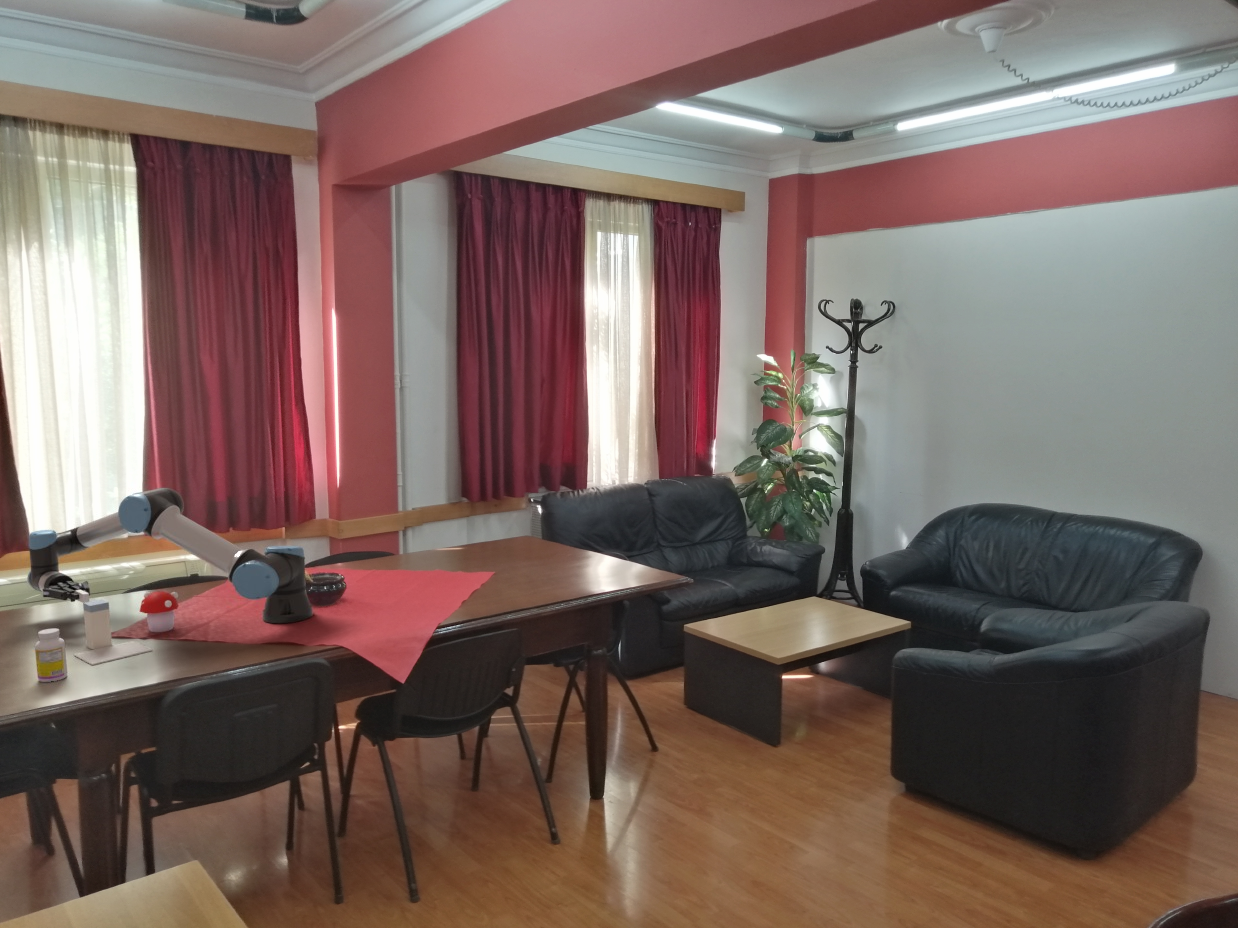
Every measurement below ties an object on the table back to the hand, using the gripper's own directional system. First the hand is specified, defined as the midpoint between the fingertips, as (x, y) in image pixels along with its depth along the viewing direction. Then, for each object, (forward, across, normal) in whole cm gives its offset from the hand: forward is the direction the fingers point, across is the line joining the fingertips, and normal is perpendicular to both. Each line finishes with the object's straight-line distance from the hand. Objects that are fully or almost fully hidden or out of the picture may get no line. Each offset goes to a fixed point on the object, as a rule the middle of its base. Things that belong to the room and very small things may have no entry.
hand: (86, 598), depth 273 cm
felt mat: (+19, 0, -13) cm, 22 cm away
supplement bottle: (+28, +19, -13) cm, 36 cm away
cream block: (+8, 0, -13) cm, 15 cm away
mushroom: (+5, -18, -13) cm, 23 cm away
